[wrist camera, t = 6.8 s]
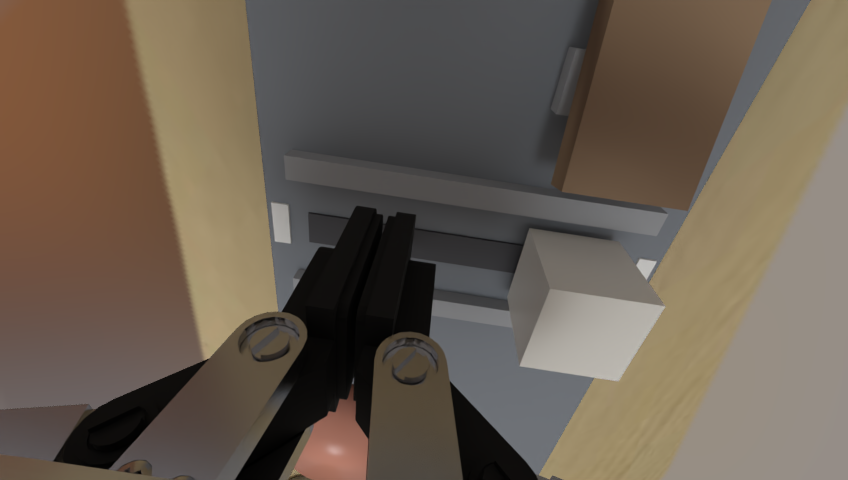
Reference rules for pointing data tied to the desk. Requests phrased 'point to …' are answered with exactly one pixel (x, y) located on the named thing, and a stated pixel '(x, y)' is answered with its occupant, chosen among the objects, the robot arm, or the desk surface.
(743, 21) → the rocker
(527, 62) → the console
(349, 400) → the push button
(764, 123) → the desk surface
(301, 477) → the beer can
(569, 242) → the slider knob
